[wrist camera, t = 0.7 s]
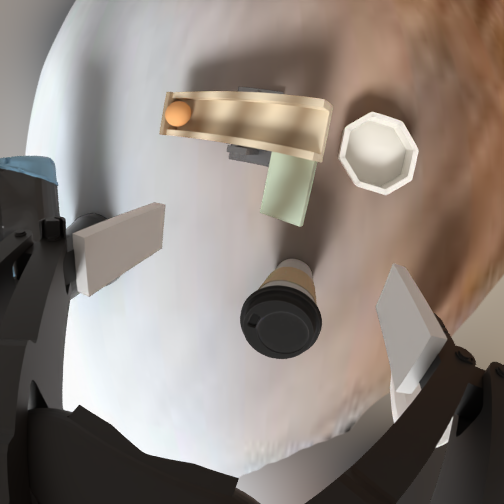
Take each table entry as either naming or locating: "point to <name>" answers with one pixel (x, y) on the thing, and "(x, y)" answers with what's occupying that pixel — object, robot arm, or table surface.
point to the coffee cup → (283, 312)
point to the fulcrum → (248, 152)
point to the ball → (178, 113)
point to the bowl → (378, 153)
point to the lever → (264, 138)
